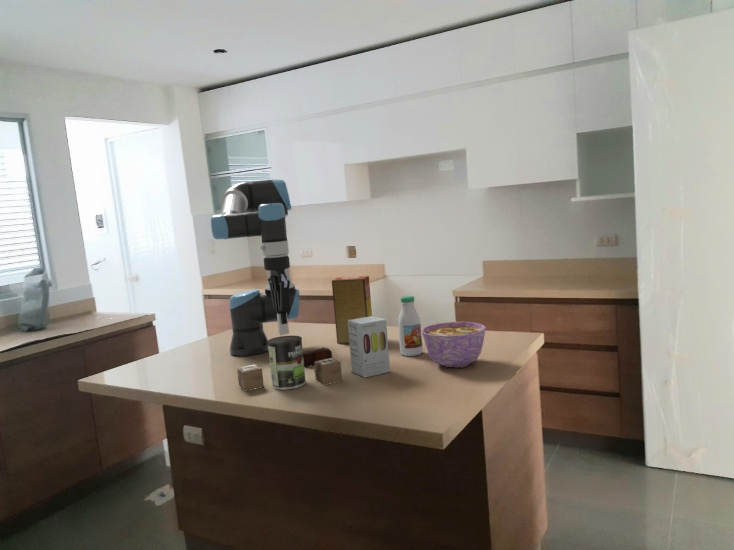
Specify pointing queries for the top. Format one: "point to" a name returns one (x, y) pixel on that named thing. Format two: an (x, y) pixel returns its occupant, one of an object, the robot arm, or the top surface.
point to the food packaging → (350, 303)
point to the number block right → (328, 371)
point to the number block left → (250, 377)
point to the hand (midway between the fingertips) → (284, 333)
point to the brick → (316, 355)
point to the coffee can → (286, 362)
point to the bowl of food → (454, 342)
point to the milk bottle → (409, 328)
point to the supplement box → (368, 346)
